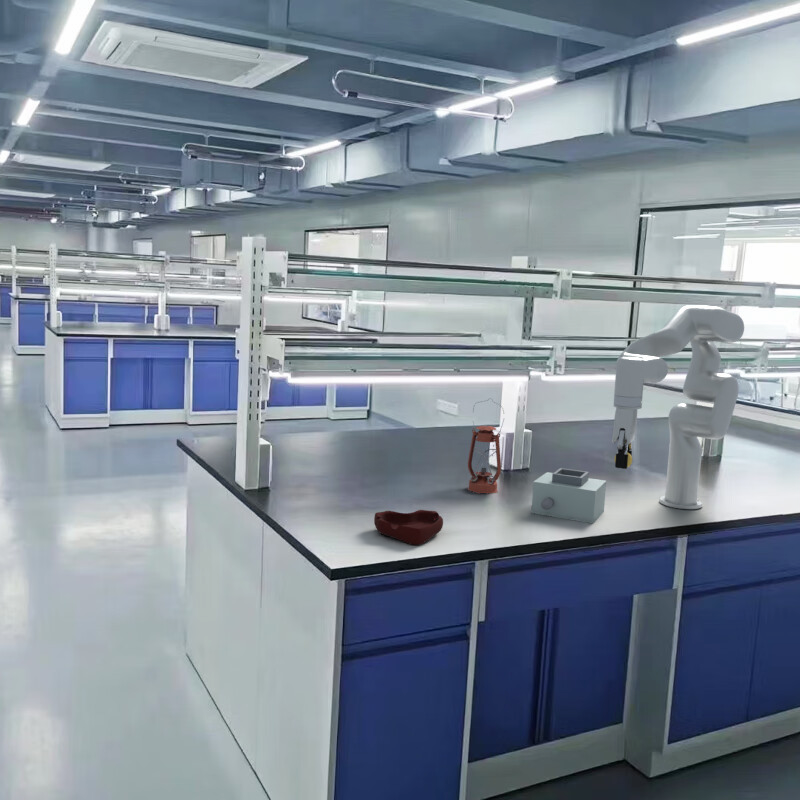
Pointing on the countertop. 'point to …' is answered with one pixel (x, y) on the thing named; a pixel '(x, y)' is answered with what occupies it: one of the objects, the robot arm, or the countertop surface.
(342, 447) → the countertop surface
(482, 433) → the lantern
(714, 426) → the robot arm
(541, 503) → the housing
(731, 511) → the countertop surface
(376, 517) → the ashtray
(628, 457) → the ball
